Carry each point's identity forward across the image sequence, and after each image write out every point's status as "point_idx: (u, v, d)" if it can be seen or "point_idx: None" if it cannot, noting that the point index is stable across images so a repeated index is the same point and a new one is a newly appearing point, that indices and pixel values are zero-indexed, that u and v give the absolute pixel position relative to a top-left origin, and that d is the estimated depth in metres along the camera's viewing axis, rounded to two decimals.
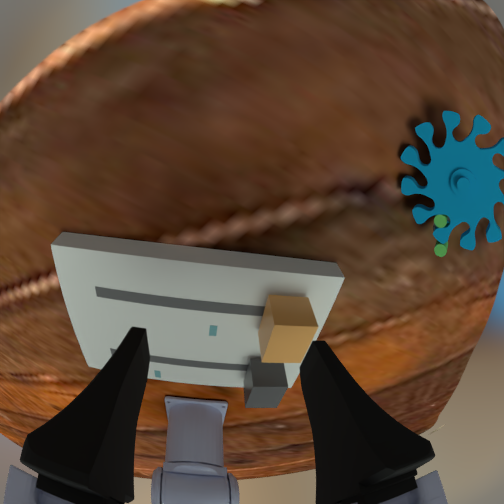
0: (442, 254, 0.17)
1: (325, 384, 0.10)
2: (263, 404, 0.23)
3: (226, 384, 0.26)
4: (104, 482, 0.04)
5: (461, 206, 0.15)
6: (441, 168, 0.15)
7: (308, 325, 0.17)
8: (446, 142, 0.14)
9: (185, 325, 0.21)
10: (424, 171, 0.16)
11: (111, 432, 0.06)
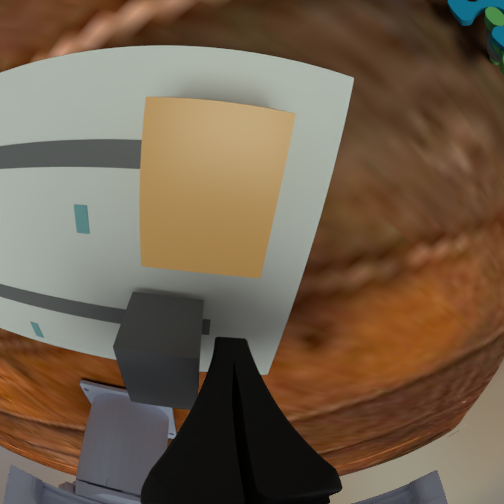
0: None
1: (234, 385, 0.09)
2: (164, 400, 0.10)
3: None
4: None
5: None
6: None
7: (261, 106, 0.05)
8: None
9: (39, 210, 0.09)
10: None
11: None
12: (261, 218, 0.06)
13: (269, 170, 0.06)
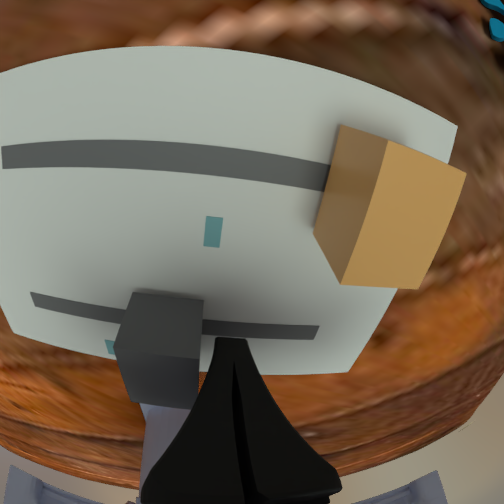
0: None
1: (234, 385, 0.09)
2: (164, 400, 0.10)
3: None
4: None
5: None
6: None
7: (450, 165, 0.06)
8: None
9: (152, 220, 0.10)
10: None
11: None
12: (432, 245, 0.07)
13: (446, 211, 0.06)
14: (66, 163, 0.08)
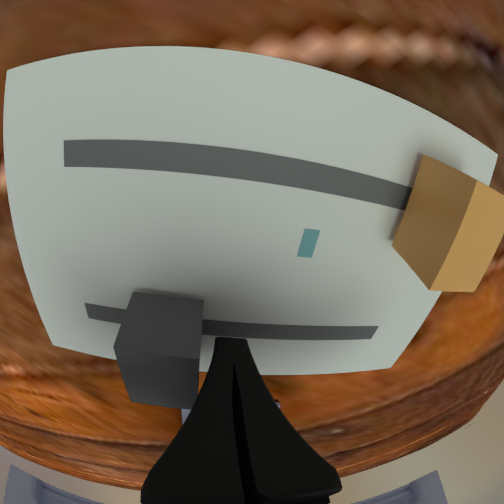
0: None
1: (234, 385, 0.09)
2: (164, 400, 0.10)
3: (298, 370, 0.15)
4: None
5: None
6: None
7: None
8: None
9: (251, 231, 0.10)
10: None
11: None
12: (488, 257, 0.08)
13: (500, 232, 0.07)
14: (157, 166, 0.09)
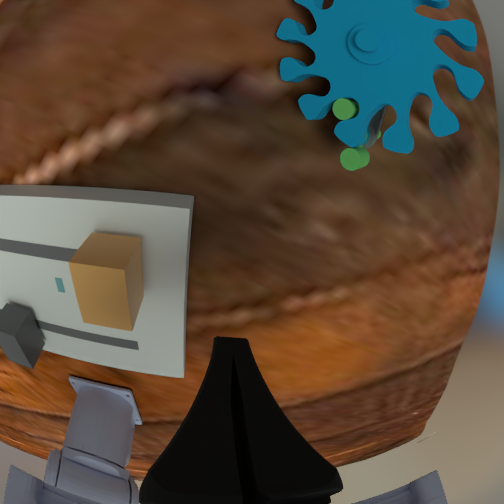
0: (354, 166, 0.12)
1: (235, 385, 0.09)
2: (18, 359, 0.15)
3: (105, 363, 0.20)
4: None
5: (374, 79, 0.09)
6: (332, 32, 0.09)
7: (110, 267, 0.11)
8: None
9: (35, 277, 0.15)
10: (308, 42, 0.10)
11: None
12: (124, 308, 0.13)
13: (120, 291, 0.12)
14: None
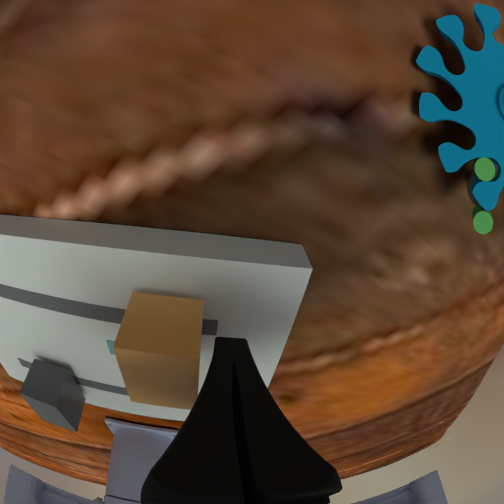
0: (485, 230, 0.09)
1: (234, 385, 0.09)
2: (57, 422, 0.13)
3: (160, 416, 0.18)
4: None
5: None
6: (482, 80, 0.06)
7: (178, 355, 0.09)
8: (485, 43, 0.05)
9: (77, 337, 0.13)
10: (455, 82, 0.07)
11: None
12: (191, 392, 0.10)
13: (190, 378, 0.09)
14: (20, 300, 0.11)
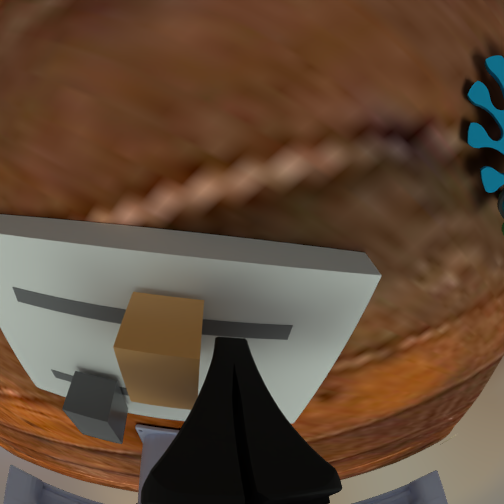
0: None
1: (234, 385, 0.09)
2: (100, 436, 0.13)
3: None
4: None
5: None
6: None
7: (178, 355, 0.09)
8: None
9: None
10: (498, 116, 0.08)
11: None
12: (191, 392, 0.10)
13: (190, 378, 0.09)
14: (67, 311, 0.12)
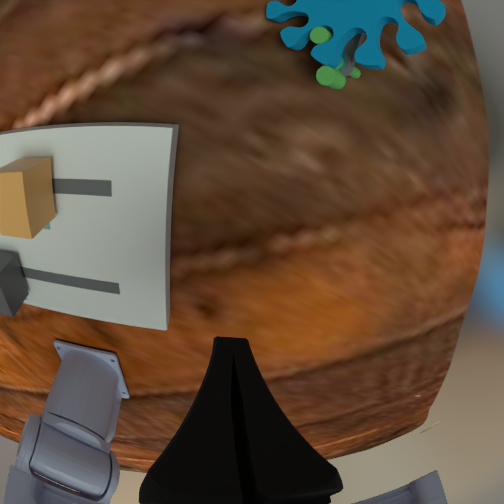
0: (329, 80, 0.11)
1: (235, 385, 0.09)
2: None
3: (86, 314, 0.20)
4: None
5: (346, 10, 0.09)
6: None
7: (14, 172, 0.10)
8: None
9: None
10: None
11: None
12: (24, 213, 0.11)
13: (20, 194, 0.11)
14: None
